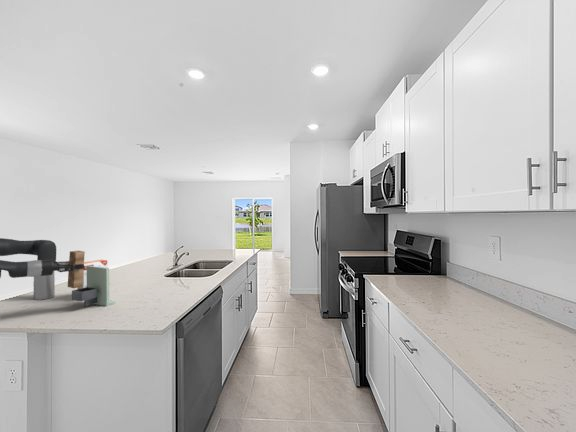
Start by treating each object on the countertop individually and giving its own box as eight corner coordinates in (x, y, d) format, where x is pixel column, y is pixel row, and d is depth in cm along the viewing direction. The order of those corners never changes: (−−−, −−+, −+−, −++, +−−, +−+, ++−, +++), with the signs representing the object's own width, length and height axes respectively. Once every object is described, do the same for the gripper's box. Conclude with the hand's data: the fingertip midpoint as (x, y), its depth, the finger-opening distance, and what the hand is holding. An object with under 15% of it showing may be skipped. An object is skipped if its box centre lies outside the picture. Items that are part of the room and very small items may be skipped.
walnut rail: (67, 286, 147) (69, 251, 147) (76, 284, 152) (78, 250, 151) (73, 288, 146) (76, 252, 145) (82, 286, 150) (84, 251, 150)
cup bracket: (67, 308, 151) (66, 269, 151) (95, 299, 165) (95, 264, 165) (87, 312, 145) (87, 272, 145) (115, 303, 159) (115, 266, 159)
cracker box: (83, 301, 163) (83, 263, 163) (76, 299, 165) (76, 262, 165) (107, 294, 176) (107, 259, 175) (101, 293, 178) (101, 259, 178)
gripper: (37, 272, 143) (78, 269, 155) (41, 279, 133) (85, 275, 145) (38, 257, 143) (79, 255, 155) (42, 263, 133) (86, 260, 145)
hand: (82, 265), depth 150 cm, fingers closed on walnut rail, 6 cm apart
